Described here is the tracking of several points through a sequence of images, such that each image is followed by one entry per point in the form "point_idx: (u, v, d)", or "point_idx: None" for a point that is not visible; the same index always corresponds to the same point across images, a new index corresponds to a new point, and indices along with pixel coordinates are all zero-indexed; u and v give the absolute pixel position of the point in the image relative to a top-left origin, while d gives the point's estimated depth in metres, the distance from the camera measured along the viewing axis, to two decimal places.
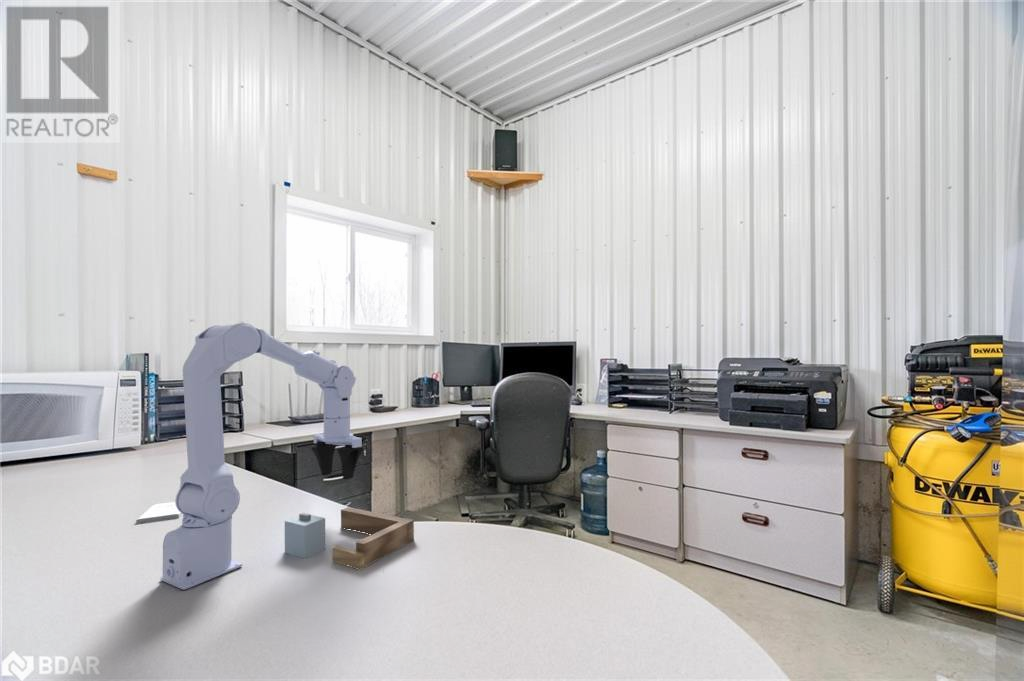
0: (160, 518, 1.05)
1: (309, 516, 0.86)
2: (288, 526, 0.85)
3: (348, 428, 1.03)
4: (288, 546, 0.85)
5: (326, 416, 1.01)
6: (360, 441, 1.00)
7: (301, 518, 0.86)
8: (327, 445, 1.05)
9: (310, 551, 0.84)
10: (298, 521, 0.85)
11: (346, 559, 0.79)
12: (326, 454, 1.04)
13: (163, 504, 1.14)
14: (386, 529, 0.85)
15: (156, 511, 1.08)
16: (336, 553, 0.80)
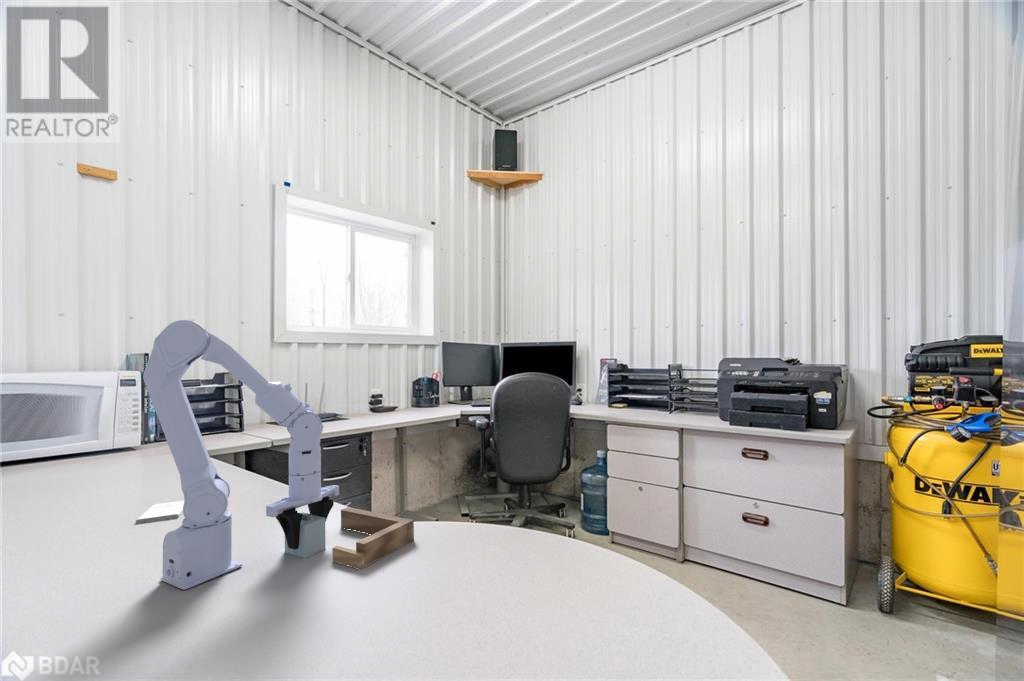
0: (160, 518, 1.05)
1: (309, 516, 0.86)
2: None
3: (296, 489, 0.84)
4: None
5: None
6: (271, 510, 0.80)
7: None
8: (316, 503, 0.88)
9: (310, 551, 0.84)
10: None
11: (346, 559, 0.79)
12: (315, 514, 0.88)
13: (163, 504, 1.14)
14: (386, 529, 0.85)
15: (156, 511, 1.08)
16: (336, 553, 0.80)
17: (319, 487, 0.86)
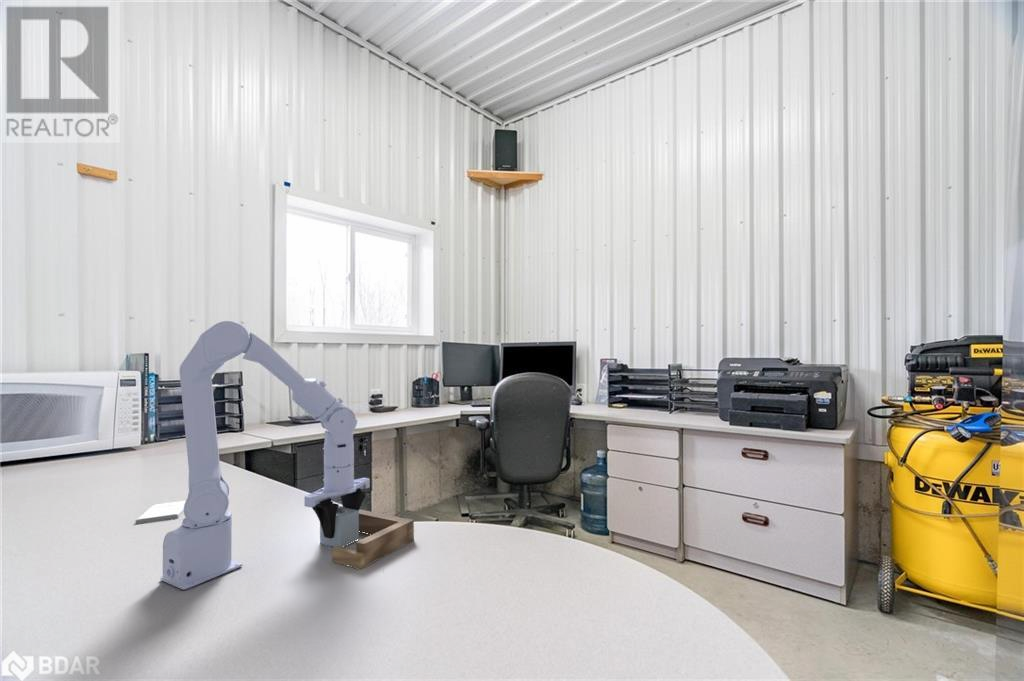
0: (159, 518, 1.05)
1: (343, 508, 0.89)
2: None
3: (332, 481, 0.87)
4: (323, 537, 0.89)
5: (324, 464, 0.89)
6: (309, 501, 0.83)
7: None
8: (349, 495, 0.92)
9: (345, 542, 0.87)
10: None
11: (346, 559, 0.79)
12: (348, 505, 0.92)
13: (163, 504, 1.14)
14: (386, 529, 0.85)
15: (155, 511, 1.08)
16: (336, 553, 0.80)
17: (352, 479, 0.90)
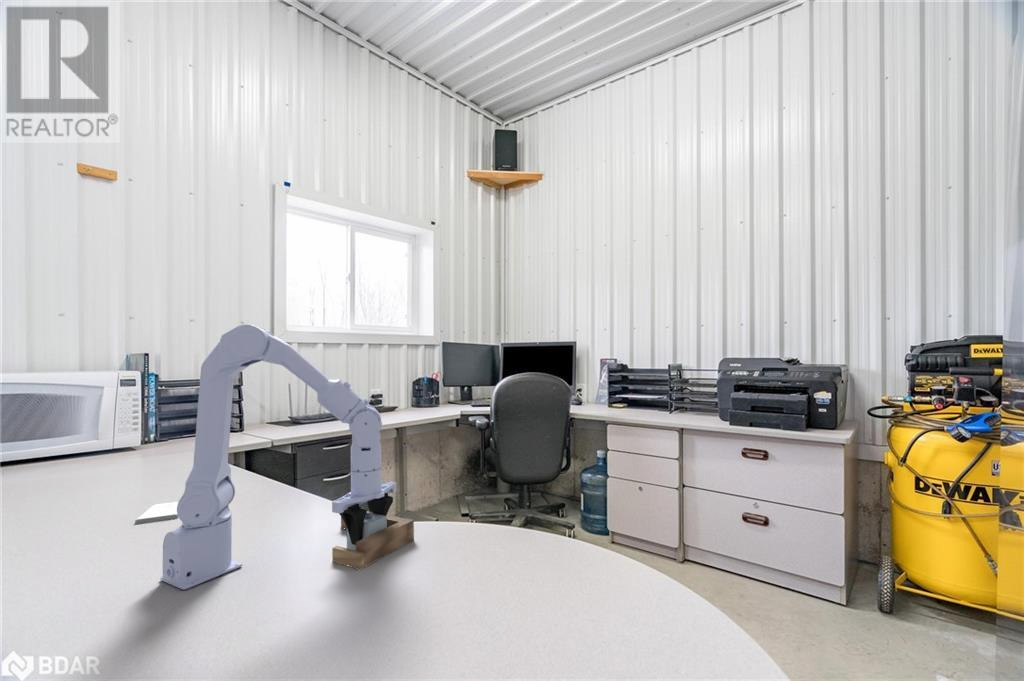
0: (159, 518, 1.05)
1: (371, 514, 0.86)
2: None
3: (360, 486, 0.84)
4: (350, 543, 0.85)
5: None
6: (337, 506, 0.80)
7: None
8: (376, 500, 0.88)
9: None
10: None
11: (346, 559, 0.79)
12: (375, 510, 0.88)
13: (163, 504, 1.14)
14: (386, 529, 0.85)
15: (155, 511, 1.08)
16: (336, 553, 0.80)
17: (380, 483, 0.86)
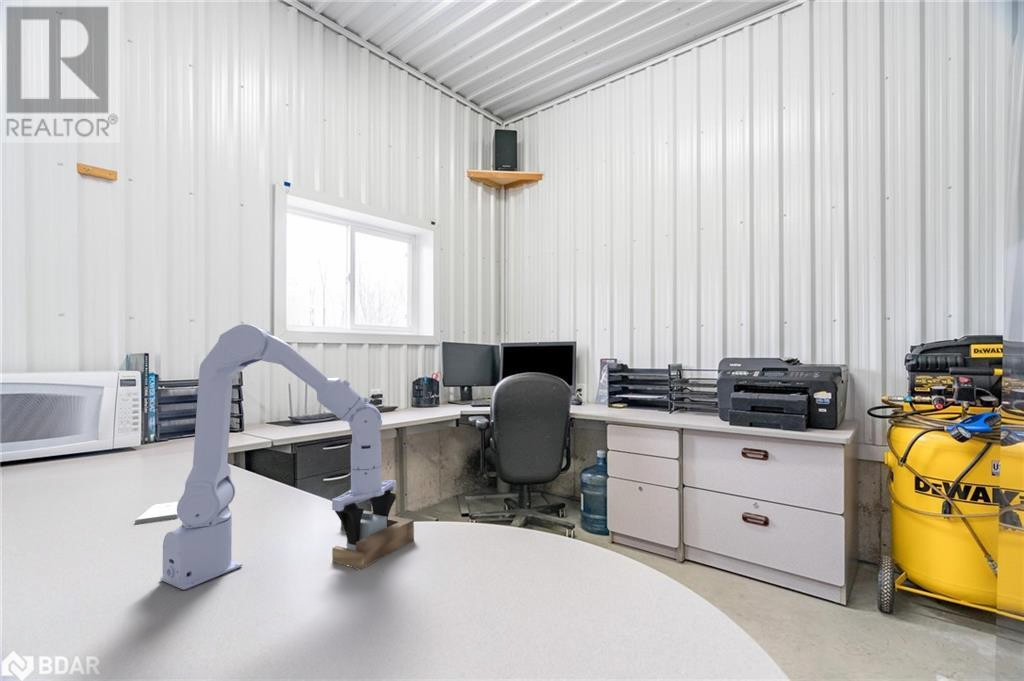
0: (159, 518, 1.05)
1: (371, 515, 0.86)
2: None
3: (360, 484, 0.84)
4: (350, 544, 0.85)
5: None
6: (338, 504, 0.80)
7: (363, 517, 0.86)
8: (379, 497, 0.89)
9: None
10: None
11: (346, 559, 0.79)
12: (378, 507, 0.89)
13: (163, 504, 1.14)
14: (386, 529, 0.85)
15: (155, 511, 1.08)
16: (336, 553, 0.80)
17: (380, 481, 0.86)
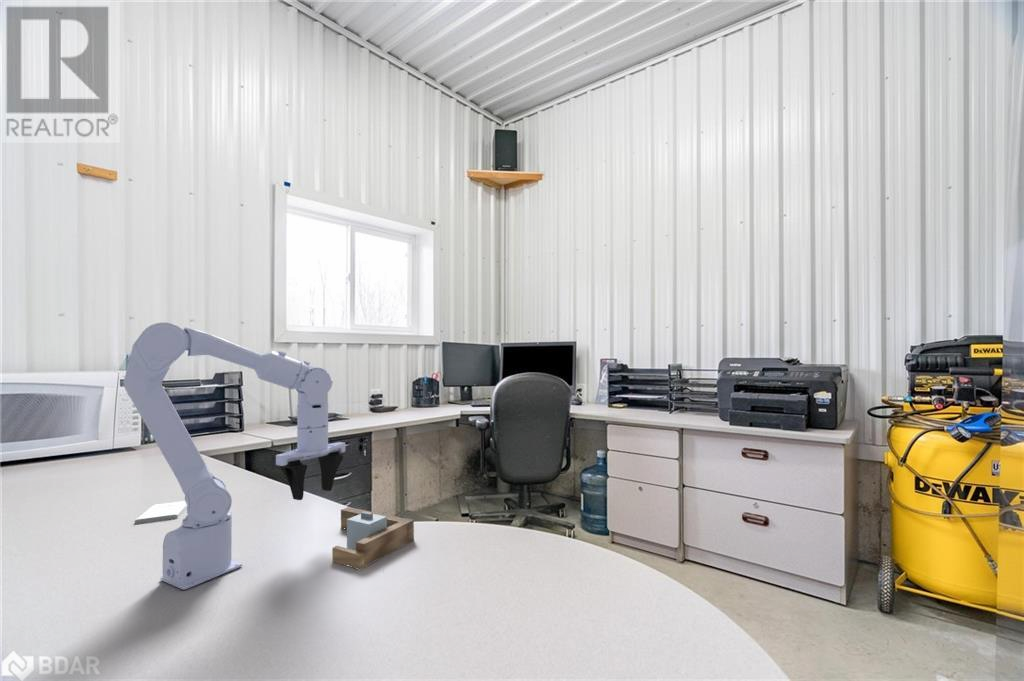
0: (159, 518, 1.05)
1: (371, 515, 0.86)
2: (351, 524, 0.85)
3: (305, 441, 0.87)
4: (350, 544, 0.85)
5: (297, 425, 0.88)
6: (280, 459, 0.83)
7: (363, 516, 0.86)
8: (327, 457, 0.92)
9: None
10: (360, 519, 0.85)
11: (346, 559, 0.79)
12: (326, 467, 0.92)
13: (163, 504, 1.14)
14: (386, 529, 0.85)
15: (155, 511, 1.08)
16: (336, 553, 0.80)
17: (326, 441, 0.90)
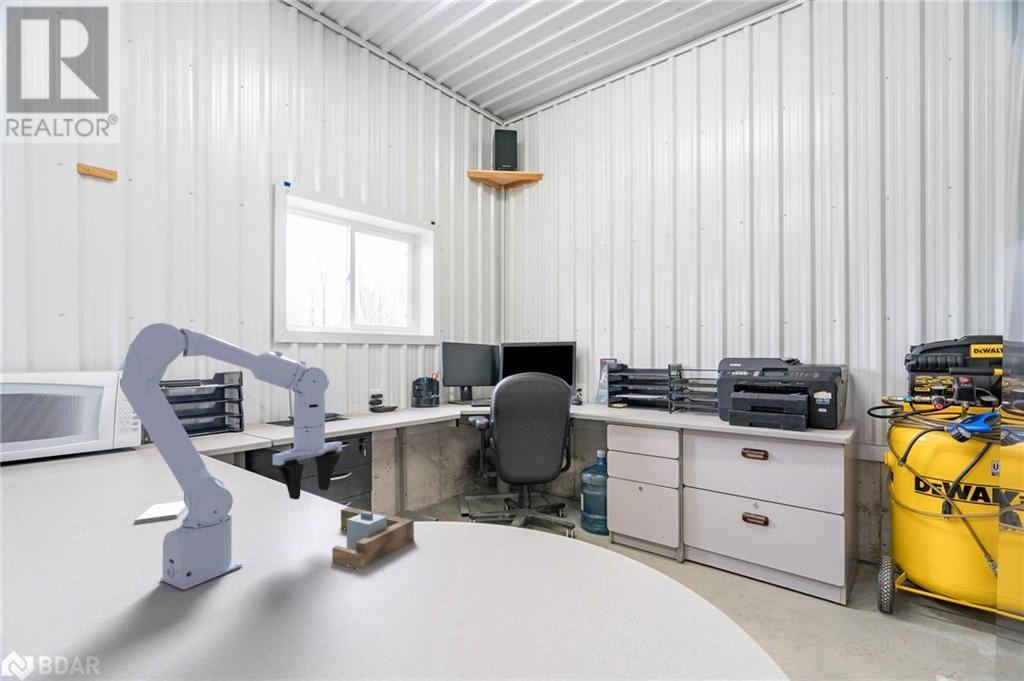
0: (158, 519, 1.05)
1: (371, 515, 0.86)
2: (351, 524, 0.85)
3: (301, 441, 0.87)
4: (350, 544, 0.85)
5: (294, 425, 0.88)
6: (277, 459, 0.83)
7: (363, 517, 0.86)
8: (323, 456, 0.93)
9: None
10: (360, 519, 0.85)
11: (346, 559, 0.79)
12: (322, 466, 0.93)
13: (163, 504, 1.14)
14: (386, 529, 0.85)
15: (155, 511, 1.08)
16: (336, 553, 0.80)
17: (323, 440, 0.90)
